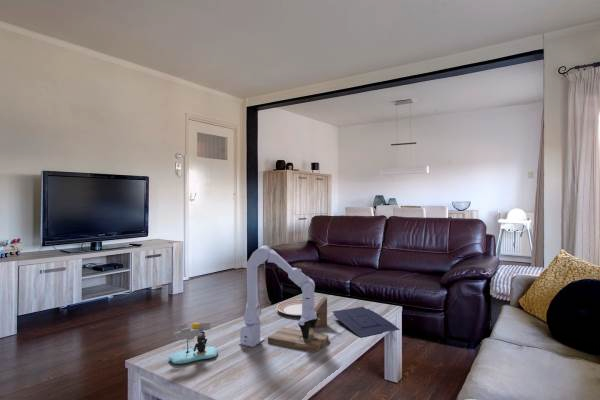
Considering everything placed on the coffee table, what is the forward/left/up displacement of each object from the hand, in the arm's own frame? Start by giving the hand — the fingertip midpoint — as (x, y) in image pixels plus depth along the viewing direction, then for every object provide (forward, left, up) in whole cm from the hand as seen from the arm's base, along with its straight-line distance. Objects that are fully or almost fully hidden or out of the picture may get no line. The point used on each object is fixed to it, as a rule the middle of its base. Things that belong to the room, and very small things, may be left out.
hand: (308, 336), depth 169 cm
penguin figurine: (-34, +36, -4) cm, 50 cm away
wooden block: (+23, +6, -4) cm, 24 cm away
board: (0, +5, -3) cm, 6 cm away
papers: (+36, -15, -4) cm, 39 cm away
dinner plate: (+41, +24, -4) cm, 48 cm away
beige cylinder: (0, 0, -3) cm, 3 cm away
